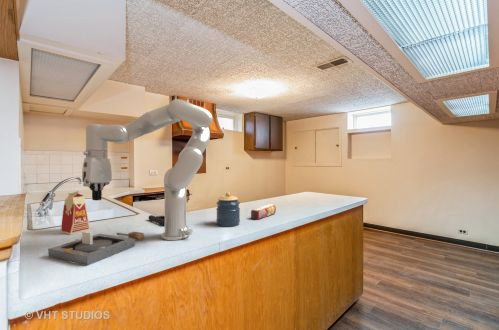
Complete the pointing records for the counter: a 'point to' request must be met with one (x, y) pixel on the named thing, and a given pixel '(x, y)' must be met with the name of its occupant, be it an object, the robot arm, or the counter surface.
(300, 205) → the counter surface
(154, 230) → the counter surface
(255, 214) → the snack package
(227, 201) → the canister
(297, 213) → the counter surface
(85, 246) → the dial
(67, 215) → the milk carton
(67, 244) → the tray
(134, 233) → the screwdriver
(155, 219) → the door handle
